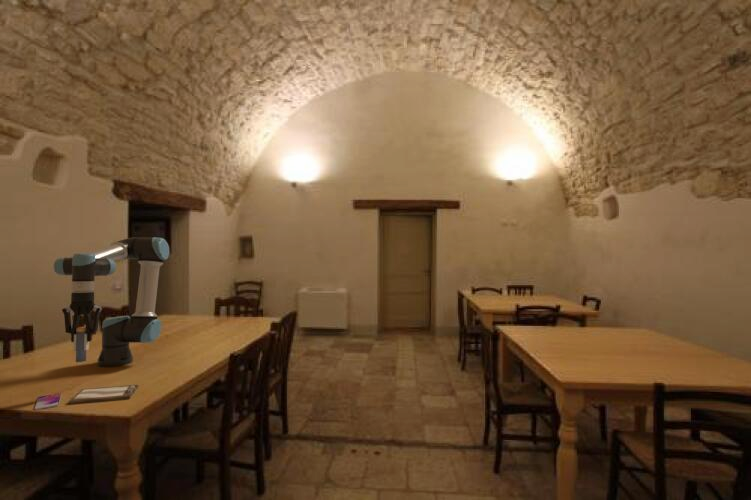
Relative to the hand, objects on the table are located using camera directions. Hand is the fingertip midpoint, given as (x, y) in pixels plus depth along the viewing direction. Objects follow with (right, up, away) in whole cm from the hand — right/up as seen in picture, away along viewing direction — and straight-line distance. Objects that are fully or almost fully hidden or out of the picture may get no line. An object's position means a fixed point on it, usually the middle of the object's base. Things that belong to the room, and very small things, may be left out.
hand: (81, 349), depth 162 cm
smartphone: (-5, -18, -10) cm, 21 cm away
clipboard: (+11, -17, -3) cm, 21 cm away
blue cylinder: (0, -5, 0) cm, 5 cm away
